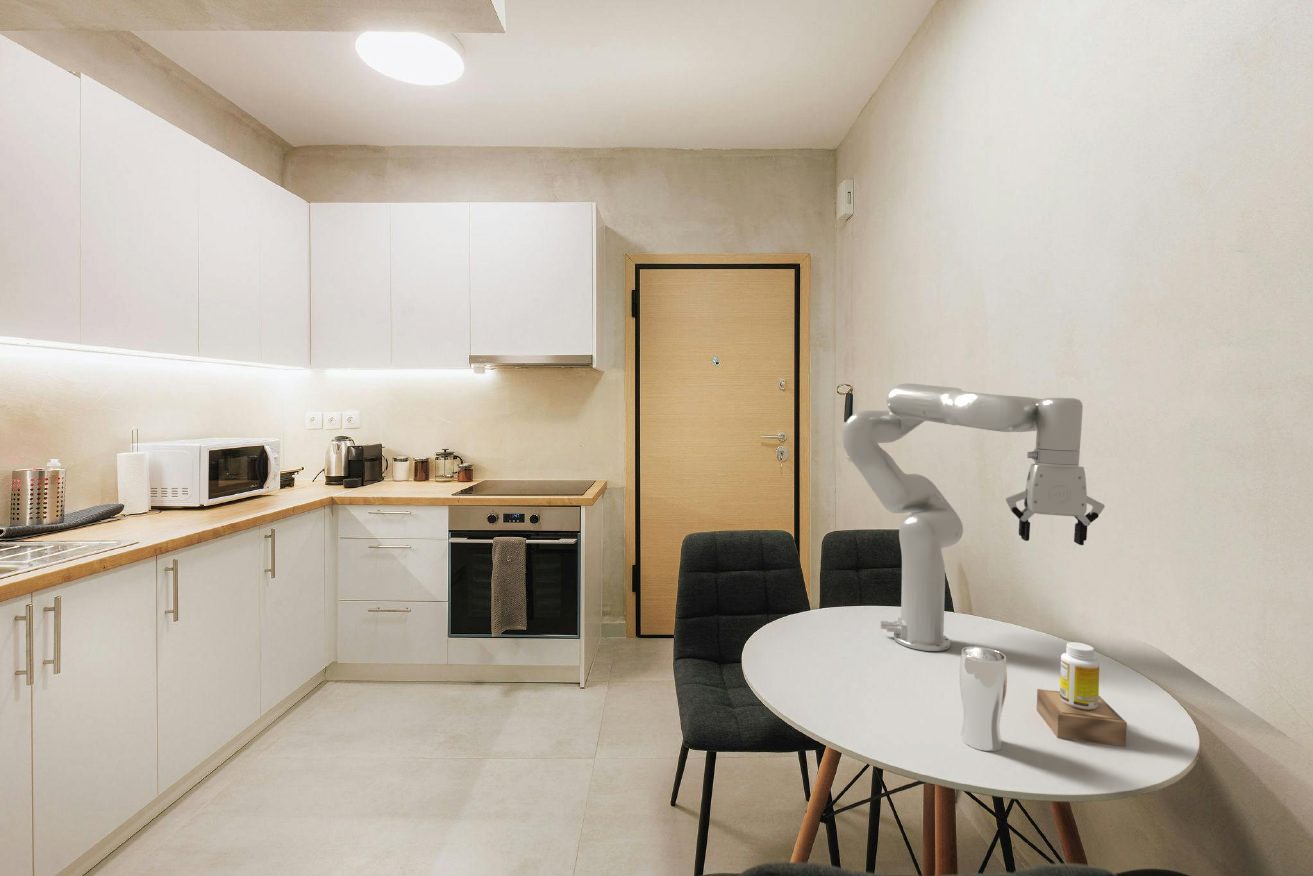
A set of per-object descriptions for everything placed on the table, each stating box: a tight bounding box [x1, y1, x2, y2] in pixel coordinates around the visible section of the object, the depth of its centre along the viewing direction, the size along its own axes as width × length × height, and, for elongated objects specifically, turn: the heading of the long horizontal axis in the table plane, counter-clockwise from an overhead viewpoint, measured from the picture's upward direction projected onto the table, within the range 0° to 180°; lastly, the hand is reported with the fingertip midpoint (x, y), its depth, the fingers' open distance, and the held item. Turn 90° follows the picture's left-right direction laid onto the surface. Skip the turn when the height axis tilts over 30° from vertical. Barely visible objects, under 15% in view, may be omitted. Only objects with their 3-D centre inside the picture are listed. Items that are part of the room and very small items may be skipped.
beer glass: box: [959, 645, 1008, 752], centre depth 101 cm, size 7×7×15 cm
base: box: [1036, 688, 1128, 747], centre depth 106 cm, size 10×10×4 cm
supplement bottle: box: [1059, 641, 1100, 710], centre depth 106 cm, size 6×6×10 cm
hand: (1051, 541), depth 124 cm, fingers open, 9 cm apart
